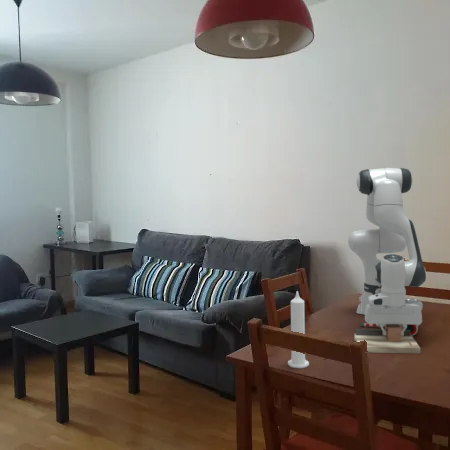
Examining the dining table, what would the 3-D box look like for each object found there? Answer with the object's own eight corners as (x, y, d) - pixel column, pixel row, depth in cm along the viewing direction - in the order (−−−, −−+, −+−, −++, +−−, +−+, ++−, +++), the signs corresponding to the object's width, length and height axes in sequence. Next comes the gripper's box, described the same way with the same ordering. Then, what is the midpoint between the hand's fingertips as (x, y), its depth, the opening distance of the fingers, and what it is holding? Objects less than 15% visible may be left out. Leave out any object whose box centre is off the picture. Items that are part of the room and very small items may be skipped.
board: (354, 338, 193) (354, 328, 193) (410, 339, 190) (410, 329, 189) (359, 352, 177) (359, 341, 177) (420, 353, 174) (420, 342, 174)
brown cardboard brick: (385, 335, 189) (385, 322, 188) (397, 336, 188) (397, 323, 187) (388, 341, 182) (388, 328, 181) (401, 341, 181) (401, 328, 181)
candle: (306, 360, 170) (305, 288, 168) (310, 368, 163) (310, 293, 161) (286, 361, 170) (285, 289, 168) (289, 368, 163) (288, 294, 161)
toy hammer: (358, 331, 203) (358, 315, 203) (363, 323, 214) (363, 309, 213) (417, 337, 194) (418, 321, 193) (420, 328, 204) (420, 313, 204)
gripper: (420, 297, 185) (420, 333, 186) (364, 296, 188) (364, 332, 189) (424, 301, 179) (424, 338, 180) (366, 300, 182) (366, 337, 183)
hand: (393, 335), depth 185 cm, fingers closed on brown cardboard brick, 4 cm apart
